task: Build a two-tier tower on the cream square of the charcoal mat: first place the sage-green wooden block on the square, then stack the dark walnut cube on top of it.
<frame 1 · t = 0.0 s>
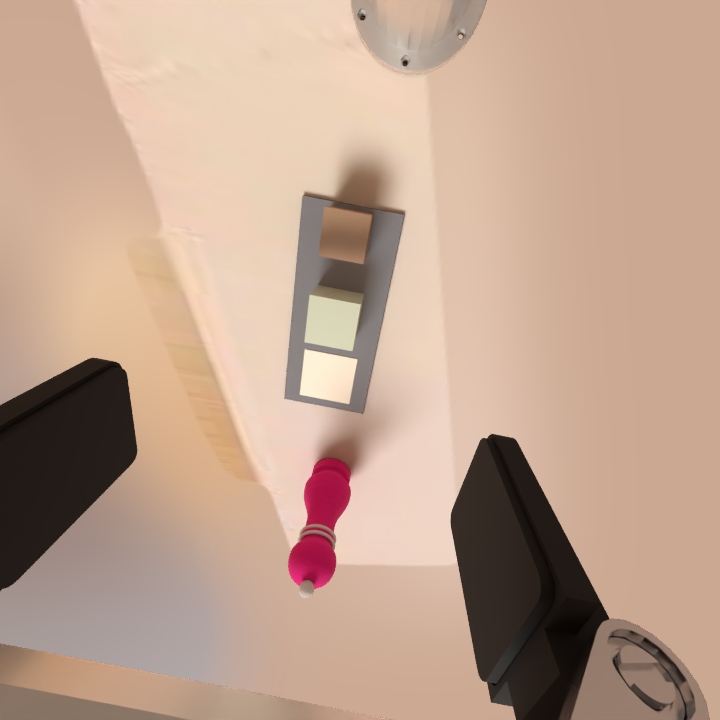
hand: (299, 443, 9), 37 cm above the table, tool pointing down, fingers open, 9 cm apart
sage block: (337, 311, 45), resting on build mat
build mat: (336, 317, 46), on the table
pepper mill: (332, 471, 58), on the table
walnut cube: (349, 232, 41), resting on build mat
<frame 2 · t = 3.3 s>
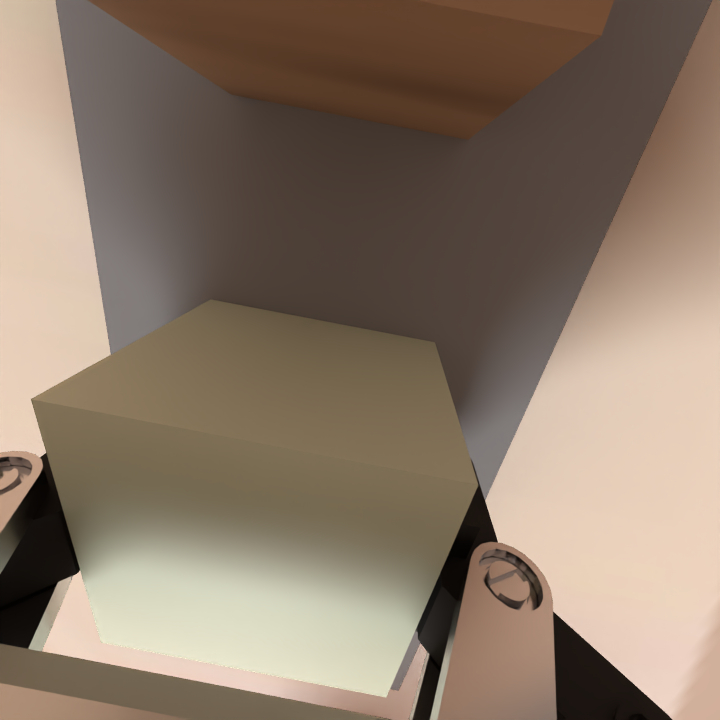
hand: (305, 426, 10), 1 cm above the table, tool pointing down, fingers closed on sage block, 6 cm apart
sage block: (310, 414, 10), resting on build mat, touching gripper
build mat: (309, 432, 11), on the table
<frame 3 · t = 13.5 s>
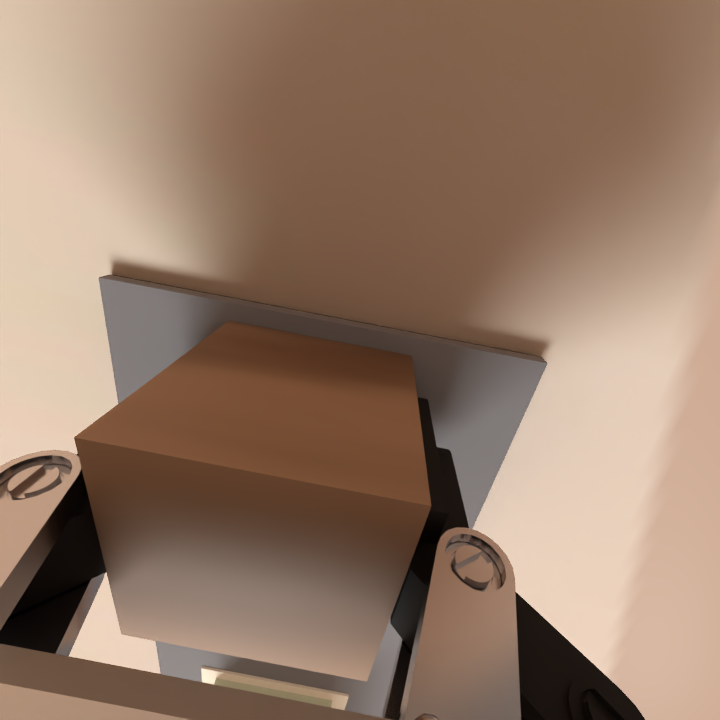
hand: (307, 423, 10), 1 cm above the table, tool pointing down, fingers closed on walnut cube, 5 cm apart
sage block: (270, 715, 19), resting on build mat
build mat: (285, 611, 15), on the table
walnut cube: (310, 414, 10), resting on build mat, touching gripper
when the fingers open (7 cm above the table, at t = 18.3 s): walnut cube stays where it is, resting on sage block.
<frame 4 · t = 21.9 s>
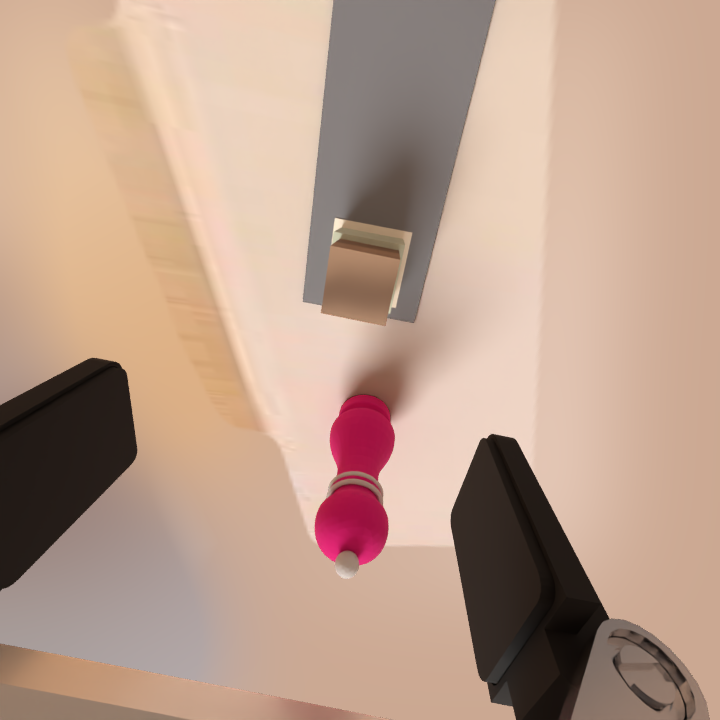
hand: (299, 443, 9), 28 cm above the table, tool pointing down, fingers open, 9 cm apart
sage block: (366, 264, 34), resting on build mat, touching walnut cube
build mat: (384, 163, 31), on the table
pepper mill: (365, 415, 43), on the table
walnut cube: (363, 274, 30), point 5 cm above the table, touching sage block
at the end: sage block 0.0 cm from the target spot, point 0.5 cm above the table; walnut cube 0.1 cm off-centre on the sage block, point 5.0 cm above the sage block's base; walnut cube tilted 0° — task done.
